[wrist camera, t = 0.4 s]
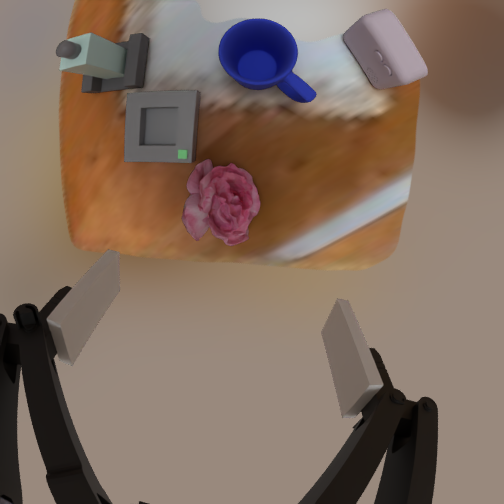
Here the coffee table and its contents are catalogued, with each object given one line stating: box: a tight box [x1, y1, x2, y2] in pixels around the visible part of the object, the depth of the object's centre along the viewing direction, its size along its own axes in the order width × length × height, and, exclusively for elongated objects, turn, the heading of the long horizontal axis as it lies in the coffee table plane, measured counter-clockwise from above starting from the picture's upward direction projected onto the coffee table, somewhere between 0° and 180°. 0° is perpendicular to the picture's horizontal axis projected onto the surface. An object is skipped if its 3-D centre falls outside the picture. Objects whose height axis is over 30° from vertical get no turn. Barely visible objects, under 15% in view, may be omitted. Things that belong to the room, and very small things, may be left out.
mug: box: [219, 19, 316, 103], centre depth 28 cm, size 8×12×10 cm
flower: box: [182, 159, 260, 246], centre depth 37 cm, size 11×10×10 cm
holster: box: [81, 33, 149, 93], centre depth 29 cm, size 8×9×4 cm
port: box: [124, 90, 201, 163], centre depth 34 cm, size 10×10×3 cm
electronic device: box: [343, 9, 428, 89], centre depth 26 cm, size 10×5×10 cm, turn 33°
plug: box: [56, 33, 128, 79], centre depth 24 cm, size 4×4×14 cm
